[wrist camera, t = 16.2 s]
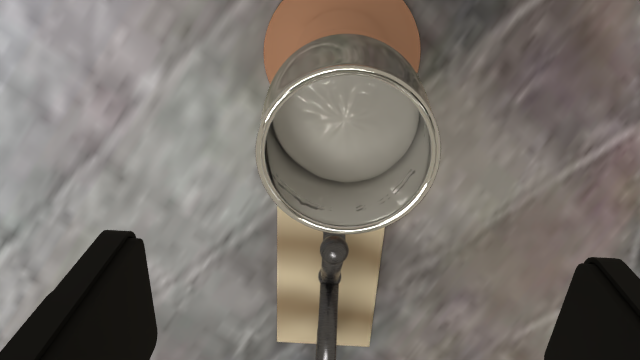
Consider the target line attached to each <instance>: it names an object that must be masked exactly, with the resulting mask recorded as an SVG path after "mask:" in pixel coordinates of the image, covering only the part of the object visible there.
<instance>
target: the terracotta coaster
mask: <svg viewBox="0 0 640 360" xmlns="http://www.w3.org/2000/svg"><path fill="white" fill-rule="evenodd" d="M338 9H348V10H354V11H358V12H360V13H363V14H365V15H366V16H368V17H370V18H371V19H372V20H374V21H375V22H376V23H377V24H378V25H379V27H380V28H381V29H382V31H383V32H384V34H385V36H386V39H387V42H389V43H390V44H392V45H393V46H394V47H395V48H397V49H398V50H399V51H400V52H401V53H402V54H403V55H404V57H405V58H406V59H407V60H408V62H409V63H410V64H411V66H412V67H413V68H414V70H415V72H416V73H417V72H418V68H419V63H420V52H421V50H420V38H419V33H418V29H417V26H416V23H415V20H414V18H413V16H412V14H411V12H410V10H409V8H408V7H407V5H406V4H405V2H404V1H403V0H283V1H282V2H281V3H280V5H279V6H278V8H277V9H276V11H275V12H274V14H273V16H272V18H271V20H270V23H269V25H268V29H267V32H266V36H265V42H264V64H265V69H266V74H267V77H268V80H269V83H270V84H271V82H272V80H273V78H274V76H275V74H276V73H277V71H278V69H279V67H280V66H281V64H282V63H283V61H284V60H285V59H286V57H287V56H288V55H289V54H290V53H291V52H292V51H293V50H294V49H295V47H296V44H297V41H298V38H299V36H300V34H301V33H302V31H303V30H304V28H305V27H306V26H307V25H308V24H309V23H310V22H311V21H312V20H313V19H315V18H316V17H317V16H319V15H321V14H323V13H325V12H328V11H332V10H338Z"/></svg>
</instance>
